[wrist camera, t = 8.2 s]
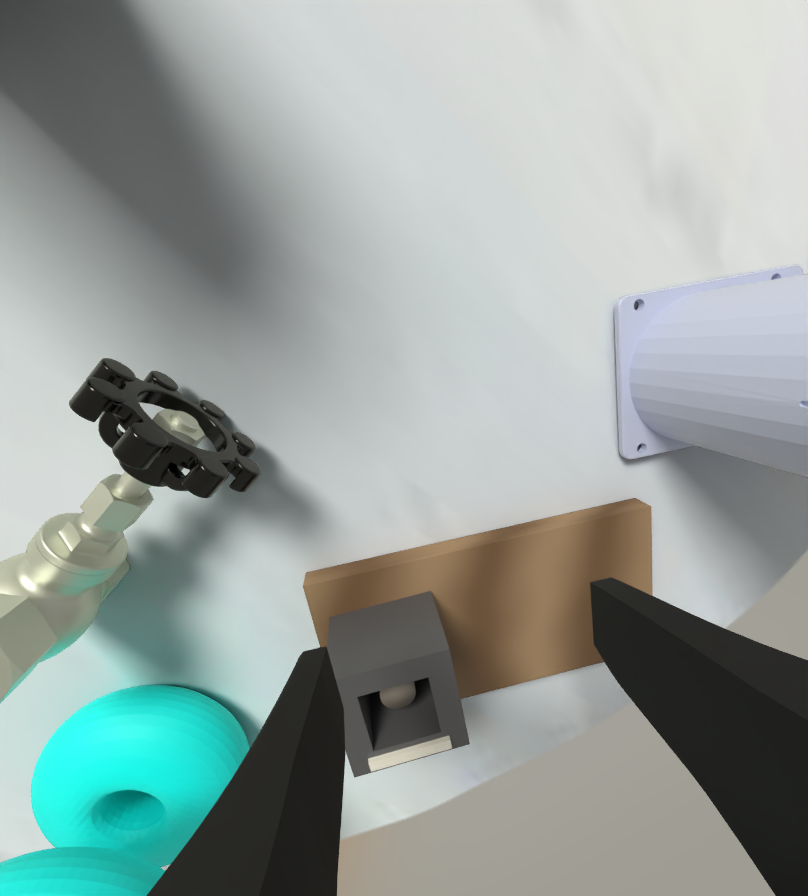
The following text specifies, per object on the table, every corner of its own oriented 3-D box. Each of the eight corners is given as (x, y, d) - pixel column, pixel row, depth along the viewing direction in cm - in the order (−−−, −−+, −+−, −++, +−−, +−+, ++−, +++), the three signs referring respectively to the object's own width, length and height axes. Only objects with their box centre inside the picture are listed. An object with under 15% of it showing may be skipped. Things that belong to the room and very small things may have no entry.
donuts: (-258, 1130, 11) (-81, 911, 10) (22, 771, 21) (129, 639, 20) (76, 1179, 14) (247, 1007, 13) (190, 838, 23) (293, 724, 22)
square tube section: (430, 590, 20) (450, 652, 16) (448, 672, 21) (471, 748, 17) (329, 617, 20) (323, 687, 16) (354, 698, 21) (354, 782, 17)
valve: (125, 628, 20) (277, 452, 19) (17, 760, 13) (237, 505, 12) (-6, 554, 18) (151, 355, 17) (-200, 665, 12) (30, 359, 11)
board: (635, 497, 22) (700, 532, 17) (638, 634, 24) (696, 692, 20) (305, 572, 20) (294, 629, 16) (343, 709, 23) (342, 788, 18)
